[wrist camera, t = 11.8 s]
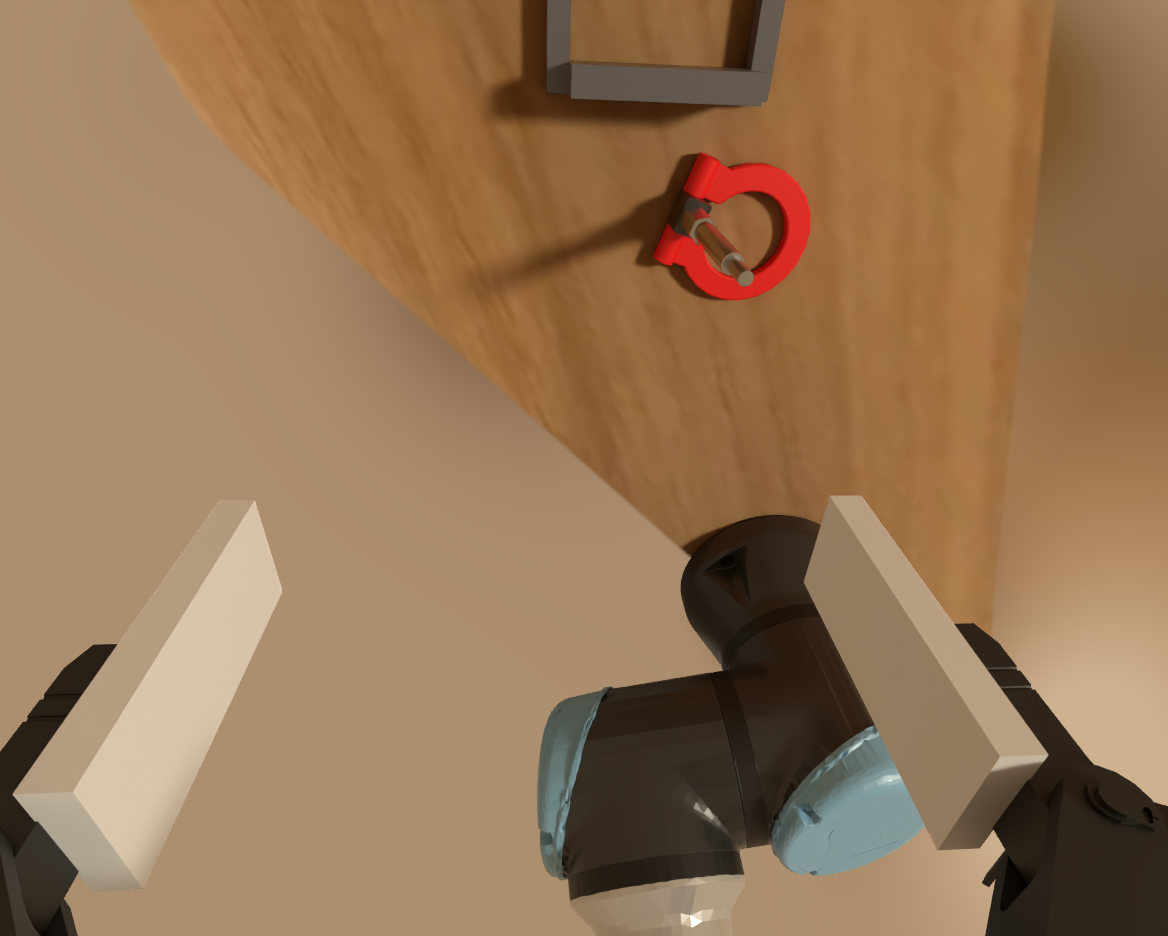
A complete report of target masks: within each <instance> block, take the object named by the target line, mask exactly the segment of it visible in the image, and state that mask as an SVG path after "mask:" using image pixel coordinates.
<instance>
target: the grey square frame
mask: <svg viewBox="0 0 1168 936" xmlns="http://www.w3.org/2000/svg"><path fill="white" fill-rule="evenodd" d="M784 4H785V0H756V4H755V10H754V17H753V23H752V29H751V36H750V42H749V49H748V55H747V61H746V68H724V67H702V66H680V65H658V64H636V63H614V62H592V61H571V60H569V52H570V10H571V0H547V59H546V92H547V93H563V94H569V96H570V98H571V99H595V100H619V101H644V102H668V103H692V104H717V105H741V106H761V103H762V102H767V100H768V94H769V88H770V83H771V77H772V72H773V66H774V60H775V55H776V49H777V43H778V38H779V32H780V26H781V21H782V15H783V10H784Z"/></svg>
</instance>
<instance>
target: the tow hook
mask: <svg viewBox="0 0 1168 936" xmlns="http://www.w3.org/2000/svg"><path fill="white" fill-rule="evenodd" d="M720 163H721V162H720V161H719V160H717V159H715V158H713V157H711V156H709V155H707V154H705V153H701V152H700V153H699V155H698V157H697V159H696V162H695V164H694V166H693V168H692V171H691V173H690V175H689V177H688V179H687V182H686V184H685V186H684V188H683V189H682V190H681V191H680V193H679V195H678V198H677V200H676V202H675V204H674V206H673V209H672V211H671V213H670V215H669V218H668V220H667V223H668V224H667V226H666V228H665V230H664V232H663V235H662V237H661V239H660V241H659V243H658V246H657V248H656V250H655V252H654V255H653V257H654V258H655V259H656V260H657V261H659V262H661V263H663V264H666V265H672V264H673V263H675V264H678V265H680V266H683V267H684V269H685V272H686V273H687V275H688V276H689V277H690V278H691V280H692V281H693V282H694V284H695V285H696V286H697V287H698V288H700V289H701V290H703V291H704V292H705V293H707V294H708V295H711V296H714V297H717V298H720V299H723V300H742V299H747V298H751V297H756V296H758V295H760V294H762V293H764V292H766V291H768V290H770V289H772V288H773V287H774V286H776V285H777V284H778V283H779V282H781V281H782V280H783V279H784V278H785V277H786V276H787V275H788V274H789V273H790V271H791V270H792V269H793V268H794V267H795V265H796V264H797V262H798V261H799V259H800V257H801V255H802V253H803V251H804V249H805V247H806V243H807V239H808V236H809V232H810V210H809V206H808V202H807V198H806V195H805V194H804V192H803V191H802V189H801V187H800V186H799V184H798V182H796V181H795V180H794V179H793V178H792V177H791V176H789V175H788V174H787V173H786V172H785V171H783V170H781V169H778V168H776V167H773V166H771V165H768V164H763V163H745V164H740V165H736V166H732V167H729V168H728V167H726V166H723V165H721V164H720ZM748 191H756V192H763V193H765V194H768V195H770V196H771V197H773V198H774V199H775V200H776V202H777V203H778V205H779V206H780V208H781V211H782V214H783V218H784V231H783V235H782V239H781V242H780V244H779V246H778V248H777V250H776V252H775V253H774V254H773V256H772V257H771V258H770V259H769V260H768V261H767V262H766V263H765V264H764V265H762V266H761V267H760V268H758V269H756V270H754V271H752V272H751V271H750V270H749V269H748V268H747V267H746V265H745V260H744V257H743V256H742V255H741V254H740V253H739V251H738V250H737V249H736V248H735V247H734V246H733V245H732V244H731V243H730V242H729V241H728V240H727V239H726V238H725V237H724V236H723V235H722V234H721V233H720V232H719V231H718V228H717V226H716V225H715V223H714V221H713V220H712V218H711V217H710V216H709V213H710V211H711V209H712V207H711V206H710V205H709V204H708V203H707V202H706V201H705V200H704V198H705V199H707V200H710V201H712V202H714V203H717V204H721V203H723V202H725V201H726V200H727V199H729V198H731V197H733V196H735V195H736V194H739V193H743V192H748ZM704 250H705V251H706V252H707V253H708V254H709V256H710V257H711V258H712V259H713V261H714V262H715V263H716V264H717V265H718V267H719V268H720V269H721V270H722V271H723V273H721V272H718V271H717V270H716V269H714V268H713V267H711V265H710V264H709V263H708V261H707V259H706V256H705V253H704Z"/></svg>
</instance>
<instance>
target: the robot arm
mask: <svg viewBox="0 0 1168 936" xmlns="http://www.w3.org/2000/svg"><path fill="white" fill-rule="evenodd" d="M281 593H282V588H281V585H280V581H279V578H278V575H277V572H276V568H275V565H274V562H273V559H272V555H271V552H270V549H269V546H268V542H267V539H266V536H265V533H264V529H263V526H262V523H261V519H260V517H259V513H258V510H257V507H256V503H255V500H224V501H223V500H219V501H218V502H217V504H216V505H215V506H214V508H213V509H212V511H211V512H210V514H209V515H208V516H207V518H206V519H205V521H204V522H203V524H202V525H201V527H200V528H199V530H198V531H197V532H196V534H195V535H194V536H193V538H192V539H191V541H190V542H189V544H188V545H187V546H186V548H185V549H184V551H183V552H182V554H181V555H180V557H179V558H178V559H177V561H176V562H175V563H174V565H173V567H172V568H171V569H170V571H169V572H168V574H167V575H166V576H165V578H164V579H163V581H162V582H161V583H160V585H159V586H158V588H157V589H156V591H155V592H154V593H153V595H152V596H151V598H150V599H149V600H148V602H147V603H146V605H145V606H144V608H143V609H142V610H141V612H140V613H139V615H138V616H137V618H136V619H135V620H134V622H133V623H132V625H131V626H130V628H129V629H128V630H127V632H126V633H125V635H124V636H123V638H122V639H121V641H120V642H119V643H118V644H108V645H107V644H105V645H93V646H91V647H90V648H89V649H88V650H86V651H85V652H84V653H83V654H81V655H80V656H79V657H77V658H76V659H75V660H74V661H73V662H71V663H70V664H69V665H67V666H66V667H65V668H64V669H63V670H62V671H61V673H60V674H59V675H58V677H57V678H56V679H55V681H54V682H53V683H52V685H51V686H50V687H49V688H48V690H47V691H46V692H45V694H44V699H43V700H39V702H38V703H37V704H36V706H35V707H34V708H33V709H32V711H31V712H30V713H29V715H28V716H27V717H28V719H27V721H26V722H23V723H22V724H21V725H20V727H19V728H18V729H17V731H16V732H15V733H14V734H13V736H12V737H11V738H10V740H9V741H8V742H7V744H6V745H5V746H4V748H3V749H2V750H1V751H0V936H78V935H77V932H76V928H75V924H74V920H73V916H72V913H71V909H70V907H69V906H68V904H67V903H66V901H65V900H64V897H65V895H66V894H67V892H68V890H69V888H70V886H71V885H72V883H73V881H74V879H75V877H76V876H77V874H78V875H79V876H80V877H81V878H82V879H83V881H84V882H85V883H86V884H87V885H88V887H89V888H90V889H91V890H92V891H110V890H130V889H143V888H144V886H145V883H146V882H147V879H148V878H149V875H150V873H151V871H152V869H153V867H154V865H155V863H156V860H157V858H158V856H159V854H160V852H161V850H162V848H163V845H164V843H165V841H166V839H167V837H168V834H169V832H170V830H171V828H172V826H173V824H174V822H175V820H176V818H177V816H178V813H179V811H180V809H181V807H182V805H183V802H184V800H185V798H186V796H187V794H188V792H189V790H190V787H191V786H192V783H193V781H194V779H195V777H196V775H197V773H198V771H199V769H200V766H201V764H202V762H203V760H204V758H205V756H206V753H207V751H208V749H209V747H210V745H211V743H212V741H213V738H214V736H215V734H216V732H217V730H218V728H219V726H220V723H221V721H222V719H223V717H224V715H225V713H226V711H227V709H228V706H229V704H230V702H231V700H232V698H233V696H234V694H235V692H236V689H237V687H238V685H239V683H240V681H241V679H242V677H243V674H244V672H245V670H246V668H247V666H248V664H249V662H250V659H251V657H252V655H253V653H254V651H255V649H256V647H257V645H258V642H259V640H260V638H261V636H262V634H263V632H264V630H265V627H266V625H267V623H268V621H269V619H270V617H271V615H272V612H273V610H274V608H275V606H276V604H277V602H278V599H279V597H280V595H281ZM681 596H682V600H683V604H684V608H685V612H686V615H687V618H688V620H689V622H690V624H691V625H692V627H693V628H694V630H695V631H696V632H697V634H698V635H699V636H700V638H701V639H702V641H703V642H704V643H705V644H706V646H707V647H708V648H709V650H710V651H711V652H712V654H713V655H714V656H715V658H716V659H717V660H718V662H719V663H720V664H721V666H722V669H723V671H719V672H713V673H705V674H700V675H693V676H687V677H681V678H675V679H669V680H663V681H657V682H651V683H645V684H639V685H633V686H628V687H620V688H613V687H605V688H603V689H602V690H601V691H598V692H593V693H589V694H585V695H580V696H576V697H571V698H568V699H565V700H564V701H562V702H560V703H559V704H558V705H557V706H556V707H555V708H554V709H553V711H552V712H551V714H550V716H549V718H548V721H547V724H546V726H545V730H544V734H543V739H542V744H541V750H540V758H539V770H538V790H537V792H538V793H537V811H538V812H537V813H538V826H539V829H540V830H541V831H540V849H541V856H542V860H543V863H544V866H545V869H546V871H547V872H548V873H549V874H550V875H551V876H553V877H557V878H558V879H560V880H566V879H568V882H569V894H570V905H571V908H572V909H573V910H574V911H575V912H576V913H577V914H578V915H579V916H580V917H581V918H582V919H583V920H584V921H585V922H586V923H587V924H588V925H589V926H590V927H591V928H592V929H593V931H594V933H595V935H596V936H733V931H732V926H731V921H730V915H731V910H732V907H733V905H734V903H735V901H736V899H737V897H738V896H739V894H740V892H741V890H742V888H743V886H744V884H745V882H746V881H745V876H744V871H743V867H742V862H741V858H740V854H739V852H740V849H744V848H751V847H757V846H764V845H771V846H772V849H773V853H774V854H775V855H776V856H777V858H779V860H780V862H781V863H782V864H783V866H784V867H786V868H787V869H788V870H790V871H792V872H795V873H798V874H805V873H810V874H812V875H815V876H820V875H829V874H834V873H840V872H844V871H848V870H852V869H855V868H858V867H861V866H863V865H866V864H869V863H871V862H873V861H875V860H878V859H880V858H882V857H884V856H886V855H888V854H889V853H891V852H893V851H894V850H896V849H898V848H899V847H901V846H902V845H904V844H905V843H906V842H907V841H909V840H911V839H912V838H913V837H914V836H916V835H917V834H918V833H919V832H920V831H921V830H922V829H923V828H924V827H925V826H926V828H927V830H928V832H929V834H930V836H931V838H932V840H933V842H934V844H935V846H936V848H937V850H953V849H973V848H980V847H981V846H982V844H983V843H984V842H985V840H986V839H987V838H988V836H989V835H990V833H991V832H992V831H993V829H994V831H995V833H996V835H997V836H998V838H999V840H1000V841H1001V843H1002V845H1003V847H1004V848H1005V851H1004V852H1003V854H1002V855H1001V856H1000V857H999V859H998V860H997V861H996V862H995V864H994V865H993V866H992V868H991V869H990V870H989V871H988V873H987V874H986V876H985V878H984V880H983V882H982V883H983V884H984V885H986V886H988V887H989V886H990V885H991V884H992V883H993V882H994V880H995V879H996V880H995V885H994V891H993V896H992V902H991V907H990V912H989V918H988V923H987V929H986V934H985V936H1168V806H1165V805H1161V804H1157V803H1155V802H1153V801H1152V799H1151V798H1149V797H1148V796H1147V795H1146V794H1145V793H1144V792H1143V791H1142V790H1141V789H1140V788H1139V787H1137V786H1136V785H1135V784H1134V783H1132V782H1131V781H1129V780H1128V779H1126V778H1124V777H1123V776H1121V775H1119V774H1118V773H1116V772H1114V771H1111V770H1108V769H1105V768H1103V767H1100V766H1097V765H1094V764H1093V763H1092V762H1091V761H1090V760H1089V759H1088V757H1087V756H1086V755H1085V754H1084V752H1083V751H1082V750H1081V748H1080V747H1079V746H1078V745H1077V743H1076V742H1075V741H1074V739H1073V738H1072V737H1071V736H1070V734H1069V733H1068V732H1067V730H1066V729H1065V728H1064V727H1063V725H1062V724H1061V723H1060V721H1059V720H1058V719H1057V717H1056V716H1055V715H1054V714H1053V712H1052V711H1051V710H1050V708H1049V707H1048V706H1047V705H1046V703H1045V702H1044V701H1043V700H1042V698H1041V697H1040V696H1039V694H1038V693H1037V692H1036V691H1035V690H1032V688H1031V684H1030V683H1029V681H1028V680H1027V679H1026V678H1025V676H1024V675H1023V674H1022V672H1021V671H1018V670H1017V669H1016V667H1017V666H1016V665H1015V663H1014V662H1013V661H1012V659H1011V658H1010V657H1009V656H1008V655H1007V653H1006V652H1005V651H1004V649H1003V648H1002V647H1001V645H1000V644H999V643H998V642H997V641H995V640H994V639H993V638H992V637H990V636H989V635H988V634H987V633H985V632H984V631H983V630H981V629H980V628H979V627H978V626H976V625H975V624H974V623H969V624H954V623H953V622H952V620H951V619H950V618H949V616H948V615H947V614H946V612H945V611H944V609H943V608H942V607H941V605H940V604H939V602H938V601H937V600H936V598H935V597H934V596H933V594H932V593H931V591H930V590H929V589H928V587H927V586H926V584H925V583H924V582H923V580H922V579H921V578H920V576H919V575H918V573H917V572H916V571H915V569H914V568H913V566H912V565H911V564H910V562H909V561H908V560H907V558H906V557H905V555H904V554H903V553H902V551H901V550H900V549H899V547H898V546H897V544H896V543H895V542H894V540H893V539H892V537H891V536H890V535H889V533H888V532H887V531H886V529H885V528H884V526H883V525H882V524H881V522H880V521H879V519H878V518H877V517H876V515H875V514H874V513H873V511H872V510H871V508H870V507H869V506H868V504H867V503H866V501H865V500H864V499H863V497H862V496H830V497H829V501H828V504H827V507H826V510H825V514H824V517H823V520H822V523H821V525H819V524H817V523H815V522H812V521H810V520H807V519H803V518H799V517H793V516H767V517H760V518H755V519H751V520H747V521H744V522H741V523H738V524H736V525H733V526H731V527H729V528H727V529H725V530H723V531H721V532H720V533H718V534H716V535H715V536H713V537H712V538H711V539H709V540H708V541H707V542H706V543H704V544H703V545H702V546H701V547H700V548H699V549H698V550H697V551H696V552H695V554H694V555H693V556H692V558H691V559H690V561H689V562H688V564H687V566H686V568H685V570H684V573H683V576H682V580H681Z"/></svg>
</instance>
